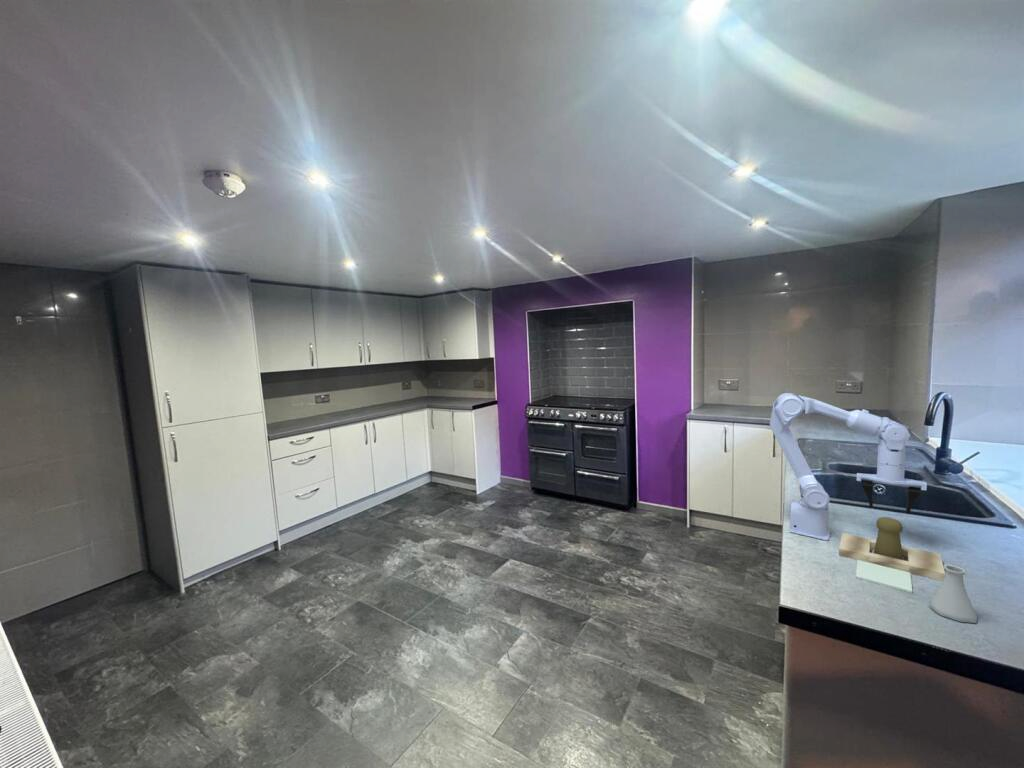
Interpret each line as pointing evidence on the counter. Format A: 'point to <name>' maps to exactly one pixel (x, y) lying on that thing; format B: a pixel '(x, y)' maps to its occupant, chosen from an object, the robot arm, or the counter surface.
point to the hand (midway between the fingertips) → (889, 509)
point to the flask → (953, 597)
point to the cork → (889, 538)
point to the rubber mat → (884, 576)
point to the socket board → (916, 564)
